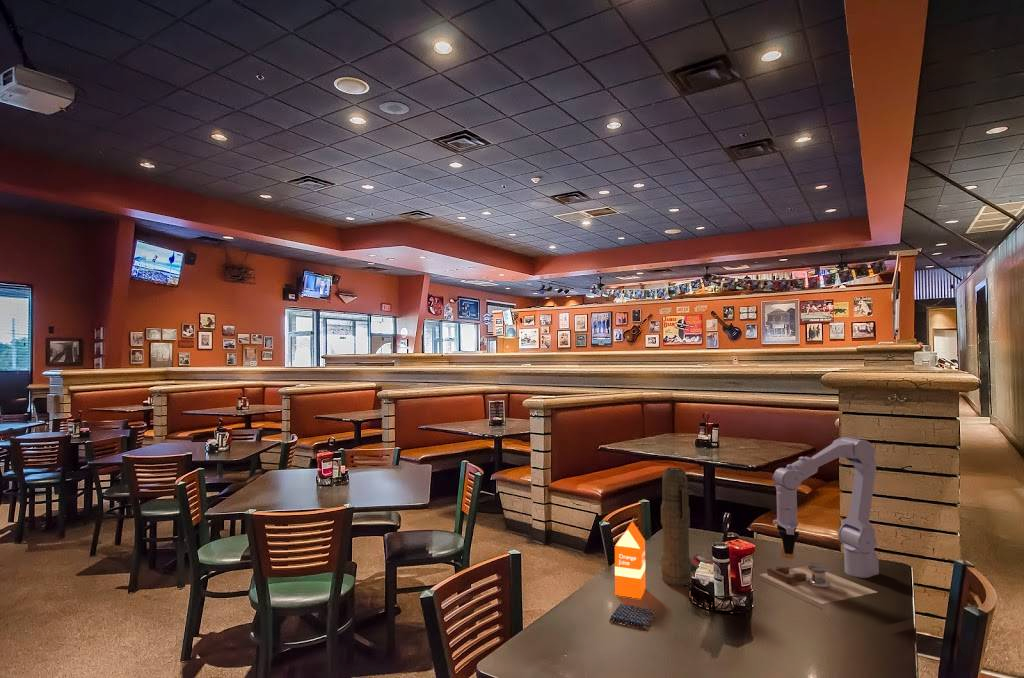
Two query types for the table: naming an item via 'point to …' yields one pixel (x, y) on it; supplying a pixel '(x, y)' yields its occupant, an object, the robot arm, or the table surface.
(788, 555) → the peg
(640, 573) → the orange juice
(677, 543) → the thermos
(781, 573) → the notch block
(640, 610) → the woven mat
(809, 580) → the bobbin
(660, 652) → the table surface
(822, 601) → the jig board
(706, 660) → the table surface
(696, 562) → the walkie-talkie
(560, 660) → the table surface
